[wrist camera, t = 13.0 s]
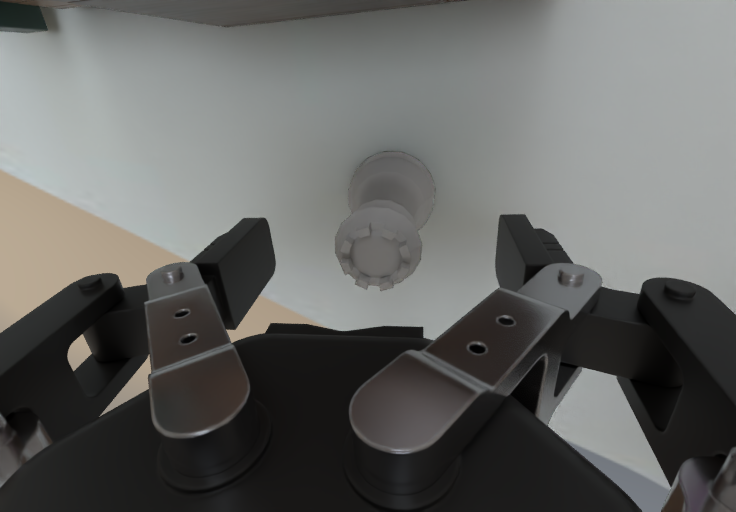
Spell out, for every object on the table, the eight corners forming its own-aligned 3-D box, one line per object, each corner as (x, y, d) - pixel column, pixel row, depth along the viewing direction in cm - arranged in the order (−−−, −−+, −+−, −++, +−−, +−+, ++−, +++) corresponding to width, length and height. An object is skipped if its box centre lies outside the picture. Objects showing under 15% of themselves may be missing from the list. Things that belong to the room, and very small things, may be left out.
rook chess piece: (430, 142, 20) (432, 190, 12) (439, 226, 21) (445, 309, 14) (343, 155, 20) (299, 207, 13) (359, 234, 22) (327, 317, 15)
